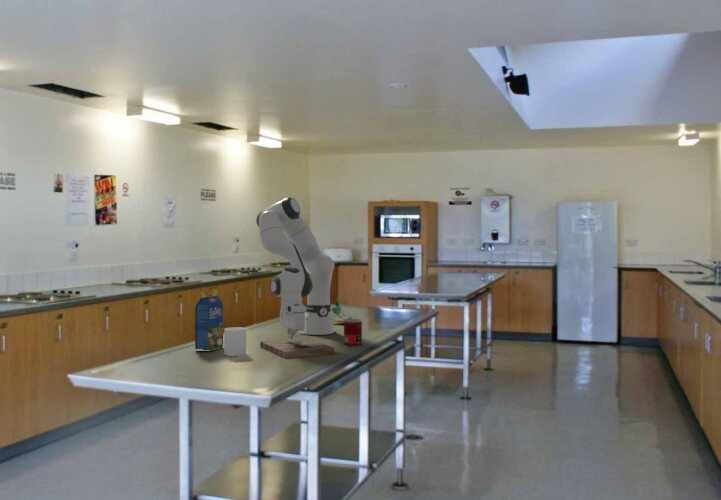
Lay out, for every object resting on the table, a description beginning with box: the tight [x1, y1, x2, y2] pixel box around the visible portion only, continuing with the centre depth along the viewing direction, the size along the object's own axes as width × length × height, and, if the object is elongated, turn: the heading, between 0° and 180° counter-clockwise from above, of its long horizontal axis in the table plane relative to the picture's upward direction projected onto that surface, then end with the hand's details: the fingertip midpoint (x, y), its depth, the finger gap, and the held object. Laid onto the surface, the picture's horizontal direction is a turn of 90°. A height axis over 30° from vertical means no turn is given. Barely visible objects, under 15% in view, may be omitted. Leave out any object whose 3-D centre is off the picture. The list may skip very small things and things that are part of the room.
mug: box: [223, 326, 247, 357], centre depth 282 cm, size 9×12×11 cm
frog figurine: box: [331, 298, 353, 325], centre depth 375 cm, size 10×18×15 cm, turn 75°
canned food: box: [343, 318, 363, 347], centre depth 308 cm, size 8×8×11 cm
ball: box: [292, 334, 302, 345], centre depth 291 cm, size 4×4×4 cm
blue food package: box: [194, 288, 224, 351], centre depth 293 cm, size 6×12×25 cm, turn 160°
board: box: [259, 337, 336, 359], centre depth 292 cm, size 28×22×2 cm
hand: (291, 338), depth 296 cm, fingers closed
